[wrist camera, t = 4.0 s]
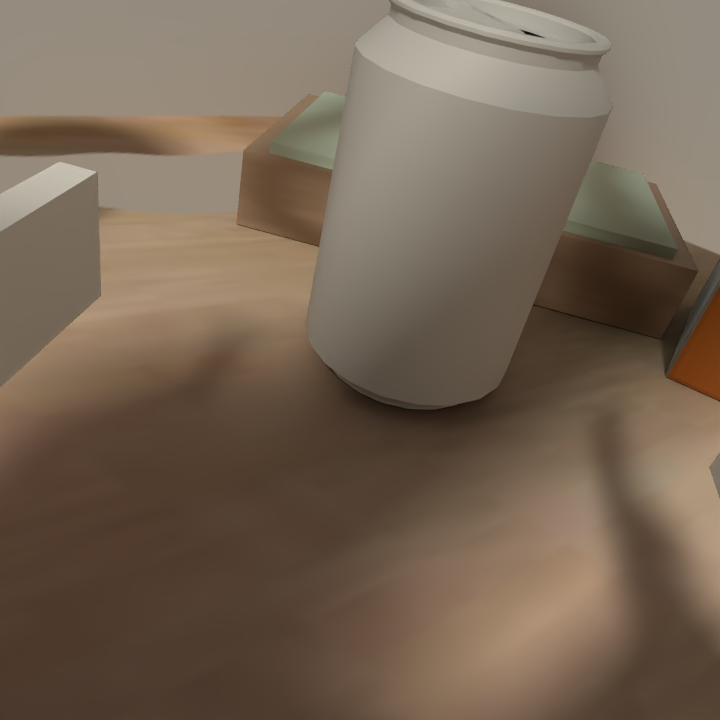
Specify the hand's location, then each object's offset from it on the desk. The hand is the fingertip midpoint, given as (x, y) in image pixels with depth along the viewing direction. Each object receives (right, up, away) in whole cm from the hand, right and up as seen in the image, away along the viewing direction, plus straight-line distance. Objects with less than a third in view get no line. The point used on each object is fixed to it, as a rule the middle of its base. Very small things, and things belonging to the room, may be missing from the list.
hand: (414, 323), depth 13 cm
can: (0, -1, +12) cm, 12 cm away
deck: (+4, +6, +22) cm, 23 cm away
